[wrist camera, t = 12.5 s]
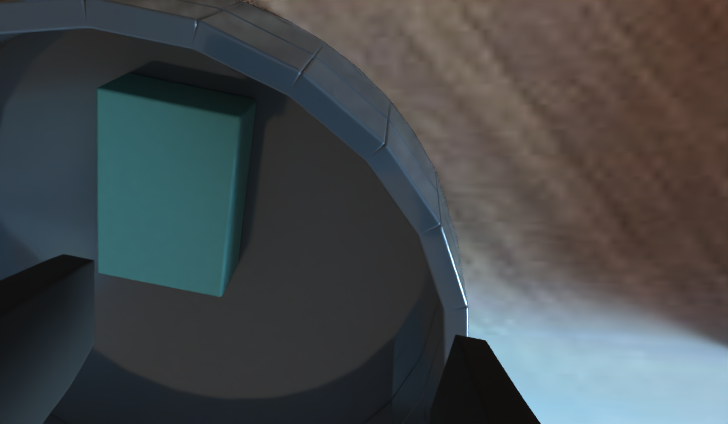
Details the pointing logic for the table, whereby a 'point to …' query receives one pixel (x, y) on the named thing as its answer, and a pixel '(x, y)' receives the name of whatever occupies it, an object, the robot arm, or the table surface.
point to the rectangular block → (171, 182)
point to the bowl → (259, 228)
